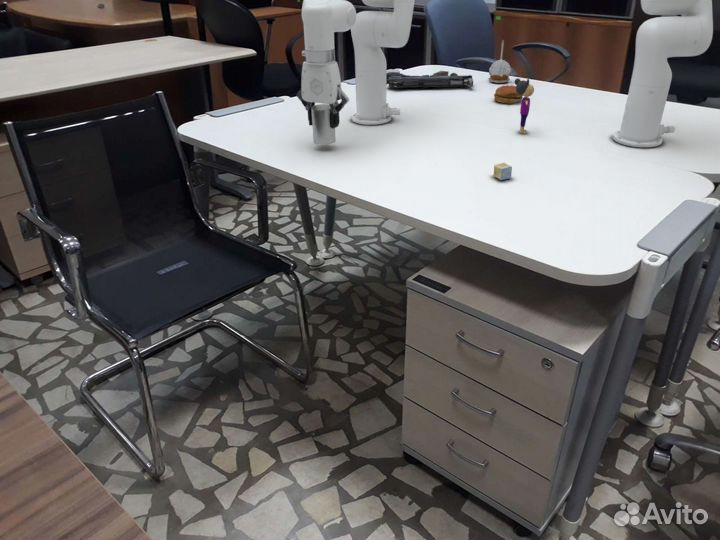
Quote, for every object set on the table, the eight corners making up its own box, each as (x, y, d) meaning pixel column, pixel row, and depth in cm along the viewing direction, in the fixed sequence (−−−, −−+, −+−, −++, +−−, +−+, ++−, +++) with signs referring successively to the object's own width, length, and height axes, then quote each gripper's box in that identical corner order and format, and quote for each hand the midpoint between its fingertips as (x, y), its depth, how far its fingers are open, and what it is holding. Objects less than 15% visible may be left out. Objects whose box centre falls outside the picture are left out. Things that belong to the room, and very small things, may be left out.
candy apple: (512, 80, 221) (516, 39, 213) (505, 84, 216) (509, 42, 208) (493, 78, 225) (496, 38, 217) (485, 82, 219) (489, 41, 211)
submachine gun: (465, 67, 229) (475, 77, 207) (464, 78, 231) (474, 89, 209) (384, 68, 229) (385, 79, 207) (384, 79, 231) (385, 91, 209)
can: (333, 145, 154) (332, 110, 150) (311, 144, 155) (309, 110, 150) (337, 138, 160) (335, 104, 155) (315, 137, 160) (313, 103, 156)
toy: (529, 138, 161) (536, 84, 154) (509, 137, 162) (515, 83, 155) (527, 127, 170) (534, 75, 162) (508, 126, 171) (514, 75, 163)
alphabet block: (500, 180, 135) (501, 168, 134) (492, 176, 138) (494, 164, 136) (511, 178, 136) (512, 166, 135) (503, 174, 139) (504, 162, 137)
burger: (499, 104, 192) (501, 90, 189) (490, 98, 200) (491, 84, 197) (527, 103, 193) (529, 89, 190) (517, 96, 201) (518, 82, 198)
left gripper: (283, 56, 147) (289, 125, 156) (343, 61, 140) (345, 133, 149) (299, 51, 152) (304, 118, 162) (356, 56, 146) (358, 125, 155)
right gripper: (724, -58, 112) (699, 34, 121) (797, -57, 98) (763, 49, 106) (757, -60, 113) (730, 33, 122) (835, -58, 99) (798, 46, 108)
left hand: (323, 125), depth 155 cm, fingers closed on can, 6 cm apart
